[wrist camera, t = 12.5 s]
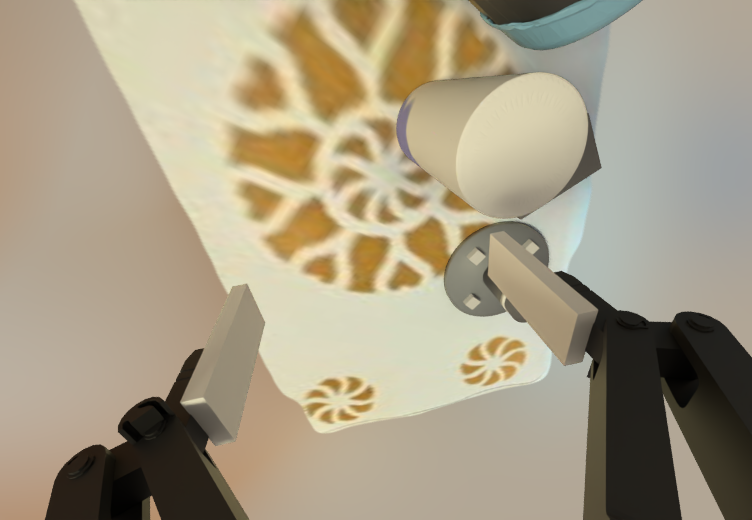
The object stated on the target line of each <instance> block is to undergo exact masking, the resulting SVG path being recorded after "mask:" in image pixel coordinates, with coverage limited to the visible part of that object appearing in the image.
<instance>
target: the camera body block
mask: <svg viewBox="0 0 752 520" xmlns="http://www.w3.org/2000/svg"><path fill="white" fill-rule="evenodd" d="M587 116H588V135H587V142H586V146H585V150H584V153H583V156H582V158H581V161H580V163H579V165H578V167H577V169H576V171H575V172H574V174H573V176H572V177H571V179H570V180H569V181H568V183H567V184H566V185H565V187H564V188H563V189H562V190H561V191H560V192H559V193H558V194H557V195H556V196H555V197H557V196H559V195H560V194H562V193H563V192H565V191H566V190H568V189H569V188H571V187H573V186H574V185H576V184H577V183H579V182H580V181H582V180H583V179H585V178H587V177H588V176H590V175H591V174H593V173H594V172H596V171H597V170H599V169H600V168H601V164H600V160H599V155H598V151H597V147H596V143H595V139H594V134H593V130H592V126H591V122H590V118H589V113H587ZM555 197H554V198H555ZM554 198H553V199H554ZM550 201H551V200H550ZM533 212H534V211H533ZM531 213H532V212H531ZM531 213H528V214H526V215H523V216H519V217H518V218H519V219H523V218H524V217H526V216H527V215H529V214H531Z"/></svg>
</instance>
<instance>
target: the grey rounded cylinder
mask: <svg viewBox="0 0 752 520" xmlns="http://www.w3.org/2000/svg"><path fill="white" fill-rule="evenodd" d="M483 282H484V284H485V285H486V286H487V288H488V289H489V290H490V291H491V292H492V293H493V295H494V296H495V297H496V298H497V299H498V301H499V302H500V303H501V305H502V306H503V308H504V309H505V310H506V311H507V312H508V313H509V314H510V315H511V316H512V317H513V318H514V319H515V320H516V321H518V322H527V321H526V320H525V319H524V318H523V317H522V315H521V314H520V313H519V312H518V311H517V309H516V308H515V307H514V306H513V305H512V303H511V302H510V301H509V300H508V299H507V298H506V296H505V295H504V294H503V293H502V292H501V290H500V289H499V288H498V287H497V286H496V284H495V283H494V282H493V281H492V280H491V279H490V277H489V276H488V267H487V268H486V270H485V271H484V274H483Z"/></svg>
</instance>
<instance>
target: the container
mask: <svg viewBox="0 0 752 520" xmlns="http://www.w3.org/2000/svg"><path fill="white" fill-rule="evenodd" d="M587 135H588V116H587V111H586V107H585V104H584V101H583V99H582V97H581V95H580V93H579V92H578V91H577V89H576V88H575V87H574V86H573V85H572V84H571V83H570V82H569V81H567V80H566V79H564V78H562V77H560V76H558V75H555V74H551V73H543V72H537V73H524V74H512V75H501V76H489V77H477V78H465V79H453V80H441V81H432V82H428V83H425V84H423V85H421V86H419V87H418V88H416V89H415V90H414V91H413V92H412V93H411V94H410V95H409V96H408V97H407V98H406V100H405V101H404V103H403V105H402V107H401V109H400V112H399V115H398V119H397V138H398V141H399V144H400V147H401V149H402V150H403V152H404V153H405V155H406V156H407V157H408V158H409V159H411V160H412V161H413V162H414V163H416V164H417V165H418V166H420V167H421V168H422V169H424V170H425V171H426V172H427V173H429V174H430V175H431V176H433V177H434V178H435V179H437V180H438V181H439V182H440V183H442V184H443V185H444V186H446V187H447V188H448V189H450V190H451V191H452V192H453V193H455V194H456V195H457V196H459V197H460V198H461V199H463V200H464V201H465V202H466V203H468V204H469V205H470V206H472V207H473V208H474V209H476V210H477V211H478V212H480V213H482V214H484V215H487V216H490V217H494V218H502V219H506V218H515V217H519V216H523V215H526V214H528V213H531V212H533V211H535V210H537V209H539V208H540V207H542V206H543V205H545V204H546V203H548V202H549V201H550V200H552V199H553V198H554V197H555V196H556V195H557V194H558V193H559V192H560V191H561V190H562V189H563V188H564V187H565V185H566V184H567V183H568V181H569V180H570V179H571V177H572V176H573V174H574V172H575V171H576V169H577V167H578V165H579V163H580V161H581V158H582V156H583V153H584V150H585V146H586V142H587Z"/></svg>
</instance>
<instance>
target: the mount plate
mask: <svg viewBox="0 0 752 520" xmlns="http://www.w3.org/2000/svg"><path fill="white" fill-rule="evenodd" d="M501 231H504V232H506V233H507V234H508V235H509V236H510V237H512V238H513V239H514V240H515V241H516V242H518V243H519V244H520V245H521V246H522V247H524V248H525V249H526V250H527V251H528V252H530V253H531V254H532V255H533V256H534V257H536V258H537V259H538V260H539V261H540V262H542V263H543V264H544V265H545V266H546V267H548V262H549V252H548V247H547V244H546V242H545V240H544V239H543V237H542V236H541V235H540V234H539V233H538V232H537V231H535V230H534V229H532V228H530V227H529V226H527V225H525V224H522V223H518V222H499V223H494V224H491V225H488V226H485V227H483V228H481V229H479V230H477V231H476V232H474V233H472V234H471V235H470V236H468V237H467V238H466V239H465V240H464V241H463V242H462V243H461V244H460V245H459V246H458V247H457V248H456V249H455V251H454V252H453V254H452V255H451V257H450V259H449V261H448V263H447V266H446V269H445V274H444V286H445V290H446V293H447V295H448V297H449V298H450V300H451V302H452V303H453V304H454V306H455V307H456V308H458V309H459V310H460V311H462V312H464V313H466V314H469V315H473V316H493V315H497V314H501V313H504V312H506V310H505V309H504V308H503V306H502V305H501V303H500V302H499V301H498V299H497V298H496V297H495V296H494V295H493V293H492V292H491V291H490V290H489V289H488V288H487V286H486V285H485V284H484V282H483V274H484V271H485V270H486V268H487V267H488V264H489V245H490V234H491V233H496V232H501Z"/></svg>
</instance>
